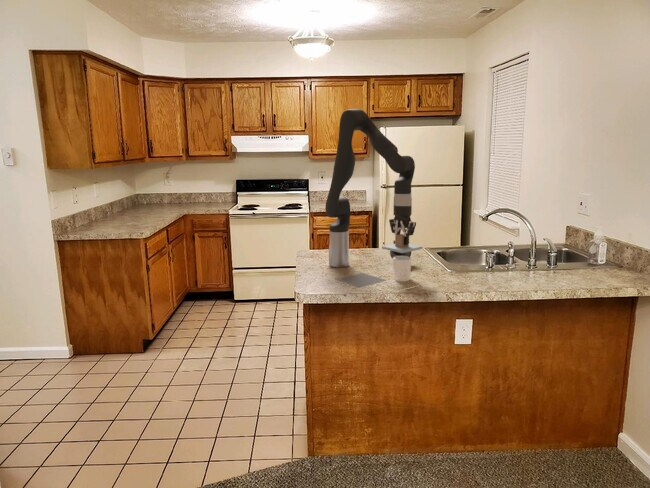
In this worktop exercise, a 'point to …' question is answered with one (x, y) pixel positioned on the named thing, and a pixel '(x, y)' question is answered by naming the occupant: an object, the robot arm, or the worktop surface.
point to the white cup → (401, 268)
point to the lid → (401, 245)
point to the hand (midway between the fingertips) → (402, 244)
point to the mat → (360, 280)
